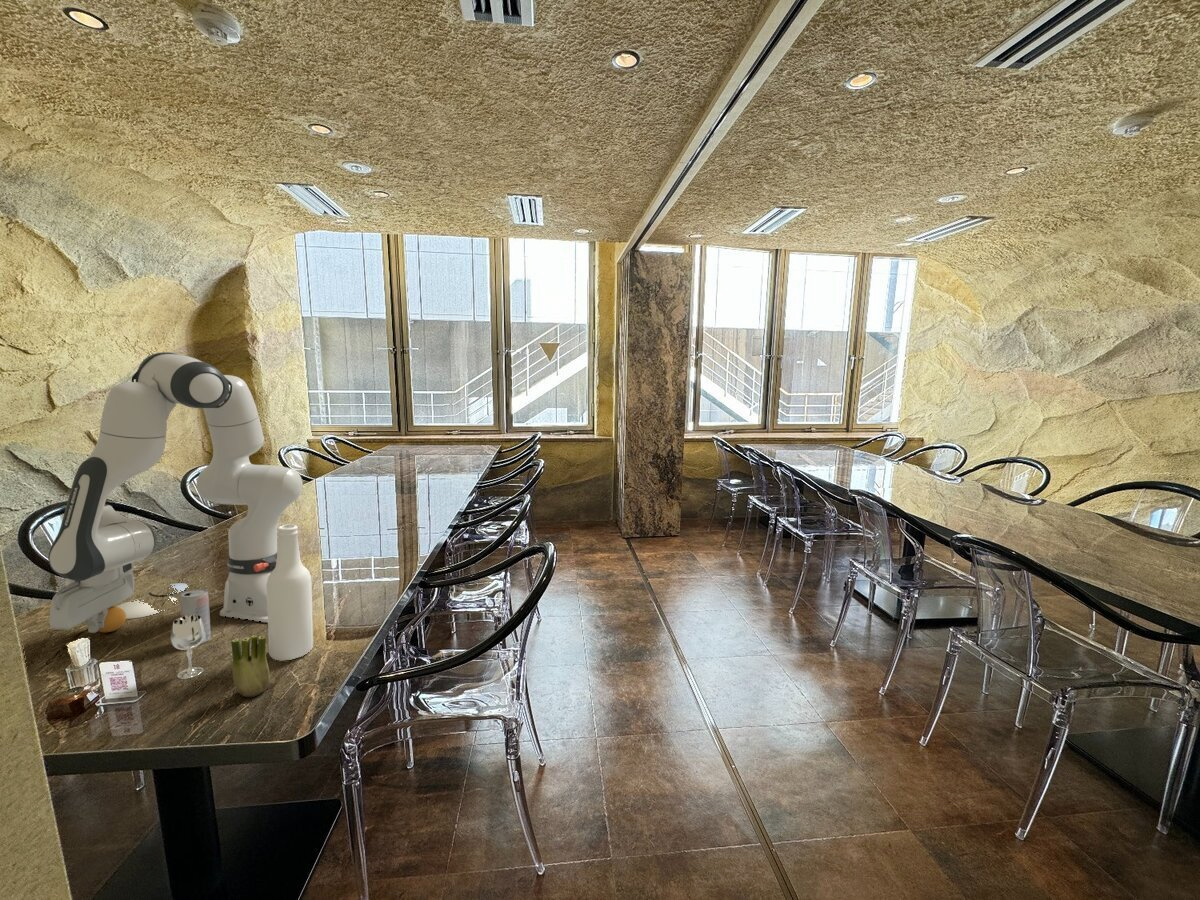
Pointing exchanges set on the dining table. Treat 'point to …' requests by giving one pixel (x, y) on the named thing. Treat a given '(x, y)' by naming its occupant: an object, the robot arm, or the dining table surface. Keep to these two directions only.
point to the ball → (113, 619)
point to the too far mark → (179, 587)
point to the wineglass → (188, 640)
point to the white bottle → (289, 600)
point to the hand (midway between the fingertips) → (96, 630)
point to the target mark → (139, 609)
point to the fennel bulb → (250, 666)
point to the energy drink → (197, 607)
